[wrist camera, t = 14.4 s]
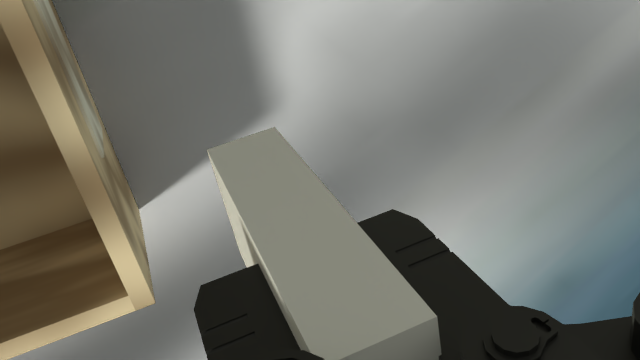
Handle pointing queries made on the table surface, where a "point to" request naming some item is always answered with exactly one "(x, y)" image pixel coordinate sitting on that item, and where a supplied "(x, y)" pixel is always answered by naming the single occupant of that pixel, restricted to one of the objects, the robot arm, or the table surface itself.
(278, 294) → the robot arm
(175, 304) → the table surface
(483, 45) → the table surface
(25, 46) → the open wooden box
